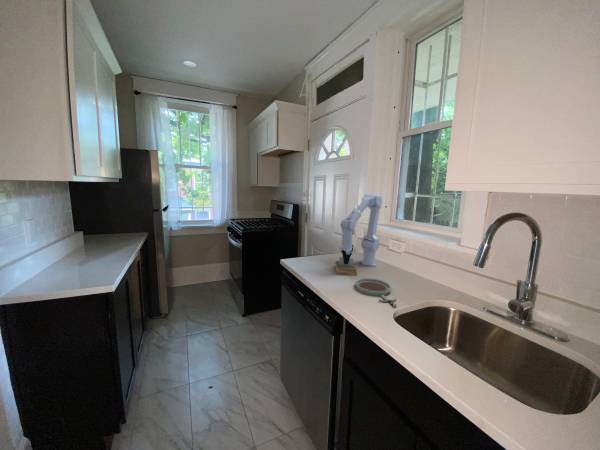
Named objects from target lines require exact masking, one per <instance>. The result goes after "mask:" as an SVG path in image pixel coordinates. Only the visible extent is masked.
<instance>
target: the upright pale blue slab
mask: <svg viewBox="0 0 600 450" xmlns="http://www.w3.org/2000/svg"><path fill="white" fill-rule="evenodd" d="M338 261H339V265H345V266H353V264H354V257H350V259H349V262H348V264H344V259H343V256H339V257H338Z"/></svg>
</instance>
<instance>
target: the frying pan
mask: <svg viewBox="0 0 600 450" xmlns="http://www.w3.org/2000/svg"><path fill="white" fill-rule="evenodd" d="M354 286H355V289H356V290H357V291H359V292H361V293H362V294H365V295H368V296H374V297H375V296H376V297H379V296H380V297H381V298H383V299H378V302H380V303H389V304H390V305H392V307H393V309H394V308H395V309H396V308H397V304H396V303H394V302H396V301H397V298H394V299H389V298H388V297H387V296H386V295H388V294H389V293H390V292H392V286H391V284H390V283H388V282H387V281H385V280H382V279H378V278H371V277H370V278H369V277H364V278H359V279H357V280H356V281H355V282H354Z"/></svg>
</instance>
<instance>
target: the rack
mask: <svg viewBox="0 0 600 450" xmlns="http://www.w3.org/2000/svg"><path fill="white" fill-rule="evenodd" d="M334 267H335V272H336V275H345V276H346V275H347V276H357V275H358V271H357V268H356V266H355V263H353V266H345V265H339V260H336V261H335V263H334Z"/></svg>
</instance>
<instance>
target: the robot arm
mask: <svg viewBox="0 0 600 450" xmlns="http://www.w3.org/2000/svg"><path fill="white" fill-rule="evenodd" d="M382 202H383V198H382V196H381V195H380V194H373V193H372V194H370V193H365V194H363V196H362V198H361V202H360V204H359V205H358V206H357V208H356V209H353V210H352V211H351V212H350V214H348V215H347V217H346V218H345V219H343V220H341V222H340V228H341V232H342V233H341V234H342V235H341V236H342V237H341V246H339V249H340V251H341V255H342V257H343V259H344V264H348V262H349V259H350V258H351V256H352V254H353V253H352V251H353V234H354V233H353V231H354V229H355V228H356V225H357V222H358V221H359V220H360V219H361V217H362V213H363V212H364V211H365V210H366V209H367V208H368V209H369V210H370V213H369V217H368V218H369V219H368V224H367V232H366V234H365V235H364V236H363V237H362V240H361V245H360V246H361V249H362V250H363V251H362V259H361V260H360V263H362V266H370V267H371V266H372V267H373V266H374V267H376V266H377V264H376V263H375V261H376V252H377V251H379V247H380V243H379V242H380V241H379V240H380V239H379V238H378V236H377V235H376V234H377V228H378V224H379V223H378V222H379V215H380V210H381V207H382Z"/></svg>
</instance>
